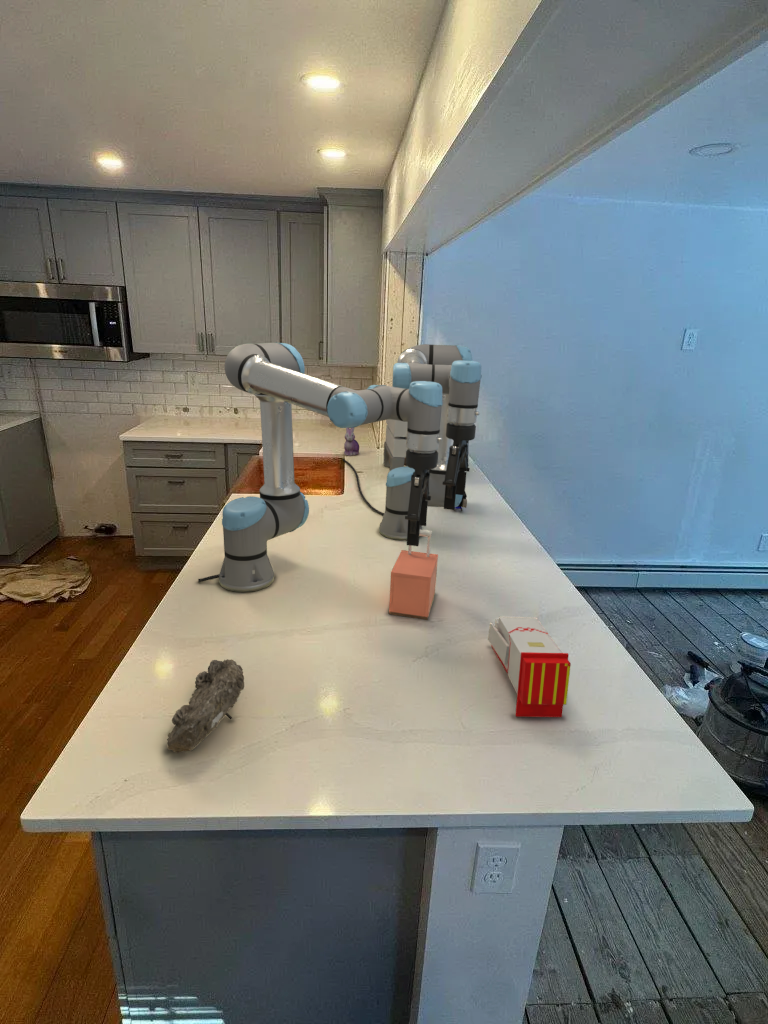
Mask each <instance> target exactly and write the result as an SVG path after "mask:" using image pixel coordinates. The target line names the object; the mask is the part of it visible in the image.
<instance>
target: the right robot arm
mask: <svg viewBox="0 0 768 1024" xmlns="http://www.w3.org/2000/svg"><path fill="white" fill-rule="evenodd" d="M481 379H482V364H481V362H479V361H475V360H473V355H472V351H471V349H470V348H469V347H468V346H464V345H457V344H454V345H453V344H430V343H429V344H428V343H423V344H416V345H413V346H410V347H408V348H406V349H405V350H403V351H402V352H401V353H400V354H399V356H398V358H397V361H396V363H394V364H393V367H392V383H391V384H392V385H391V387H397V388H404V389H409V387H410V384H411V383H412V382H414V381H427V382H428V381H430V382H437V383H439V384H440V385H441V386H442V402H443V405H442V409H441V420H440V433H439V436H438V437H442V441H439V448H438V450H436V451H437V452H438V465H437V467H436V468H434V469H430V470H429V473H430V478H429V496H431V500H426V501H428V506H427V507H433V508H443V509H444V510H450V511H454V509H455V507H457V506H458V505H459V504H460V502H461V500H462V496H463V495H464V494H465V492H466V482H467V473H469V472H470V470H471V468H470V467H469V466H470V465H469V445H470V444H469V442H470V441H473V440H474V439H475V438H476V431H477V426H476V423H477V418H478V417H477V416H480V414H481V413H480V411H478V407H479V397H480V388H481ZM342 461H343V462H344V463H345V464H347V465H348V466H349V467H350V468H351V470H352V471H353V473H354V475H355V480H356V485H357V490H358V492H359V495H360V497H361V499H362V500H363V501H364V503H365V504H366V505H367V506H368V507H369V508H370V509H371V510H372V511H373V512H375V513H377V514H379V515H381V516H382V519H381V522H379V527H378V533H379V534H380V535H381V536H382V537H385V538H387V539H389V540H395V541H407V531H408V520H406V519H405V516H407V515H408V507H409V499H410V491H411V476H412V475H413V472H415V470H414V469H413V468H409V467H408V466H406V465H405V466H404V467H399V468H395V469H393V470H391V471H390V470H389V471H388V473H387V475H386V482H385V486H386V488H385V489H386V490H385V504H384V505H385V507H384V508H385V509H384V512H382V511H380V510H378V509H377V508H375V507H374V506H373V505H372V504H371V503H370V502H369V501H368V500H367V499H366V497H365V496H364V494H363V492H362V489H361V485H360V480H359V477H358V476H359V475H358V472H357V470H356V469H355V467H354V466H353V465H352V464H351V463H350V462H349V461H347V460H346V459H344V458H343V459H342ZM455 510H456V509H455ZM411 515H415V514H411ZM420 529H421V530H423V526H420ZM420 537H421V536H419V538H420Z"/></svg>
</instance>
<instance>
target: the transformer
mask: <svg viewBox="0 0 768 1024" xmlns="http://www.w3.org/2000/svg"><path fill="white" fill-rule="evenodd" d="M385 423H386V428H385V438H384V442H383V466H384V467H388V468H389V472H390V471H391V470H393V469H395V468H399V467H405V466H406V463H405V462H406V451H407V450H408V448H407V447H406V440H407V422H404V421H399V420H391V419H387V420H385Z"/></svg>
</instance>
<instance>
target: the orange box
mask: <svg viewBox="0 0 768 1024" xmlns="http://www.w3.org/2000/svg"><path fill="white" fill-rule="evenodd" d="M432 534H433V530H428V529H422V530H421V529H420V532H419V536H420V537H426V538H427V542H426V552H421V551H415V550H412V546H410V545H408V548H407V549H408V550H407V549H406V550H405V549H401V550H400V552H399V554H398V557H397V559H396V561H395V562H394V565H393V567H392V569H391V571H390V576H391V575H394V576H401V577H408V578H416V579H423V580H430V581H431V578H432V575H433V572H434V569H435V565H436V562H437V559H438V560H439V554H436V553H430V551H431V550H430V549H431V539H432V536H433V535H432ZM437 563H438V562H437Z"/></svg>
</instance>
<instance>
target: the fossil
mask: <svg viewBox="0 0 768 1024" xmlns="http://www.w3.org/2000/svg"><path fill="white" fill-rule="evenodd" d="M243 670H244V669H243V667H242V665H240V664H237V662H236V661H235V660H234V659H232V658H231V659H227V658H226V659H224V660H223V661H222V660H217V659H212V660H211V661H210V663H209V665H208V666H207V671H201V672H199V673H198V674H197V675H196V676H195V680H194V684H195V685H194V687H195V689H194V690H193V693H192V694H191V697H190V698H189V700H188V704H184V705H182V706H181V707H180V709H177V710H176V711H175V713H174V715H173V716H172V718H171V723H172V724H173V727H172V730H171V731H170V732H168V734H167V738H166V741H167V742H166V745H167V749H168V750H169V751H173V752H174V753H176V754H178V753H182V752H188V751H189V752H192V751H193V750H195V748H196V747H197V746H199V744H200V743H201V742H203V741H204V740H205V739H206V738H207V737H208V736H209V735H210V734H211V733H212V732H214V730H215V729H217V727H218V726H219V724H220V722H221V721H222V720H223V719H224V718H225V716H226V717H227V719H229V720H233V717H232V715H230V714H229V710H230V709H231V708H234V706H235V704H236V703H237V702H238V699H239V697H240V695H241V693H242V691H243V690H245V689H244V688H245V675H244V671H243Z"/></svg>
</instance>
